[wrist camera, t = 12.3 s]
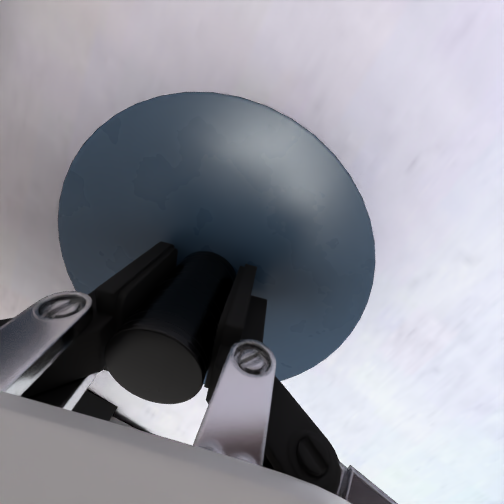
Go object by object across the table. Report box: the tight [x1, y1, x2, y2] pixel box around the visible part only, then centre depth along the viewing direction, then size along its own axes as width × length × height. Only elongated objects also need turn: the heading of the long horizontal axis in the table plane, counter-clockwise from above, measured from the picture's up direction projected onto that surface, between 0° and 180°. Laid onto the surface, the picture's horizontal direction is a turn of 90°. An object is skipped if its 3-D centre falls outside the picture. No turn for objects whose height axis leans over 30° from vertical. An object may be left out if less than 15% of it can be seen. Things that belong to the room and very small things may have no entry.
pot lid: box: [58, 92, 375, 404], centre depth 9 cm, size 15×15×6 cm
